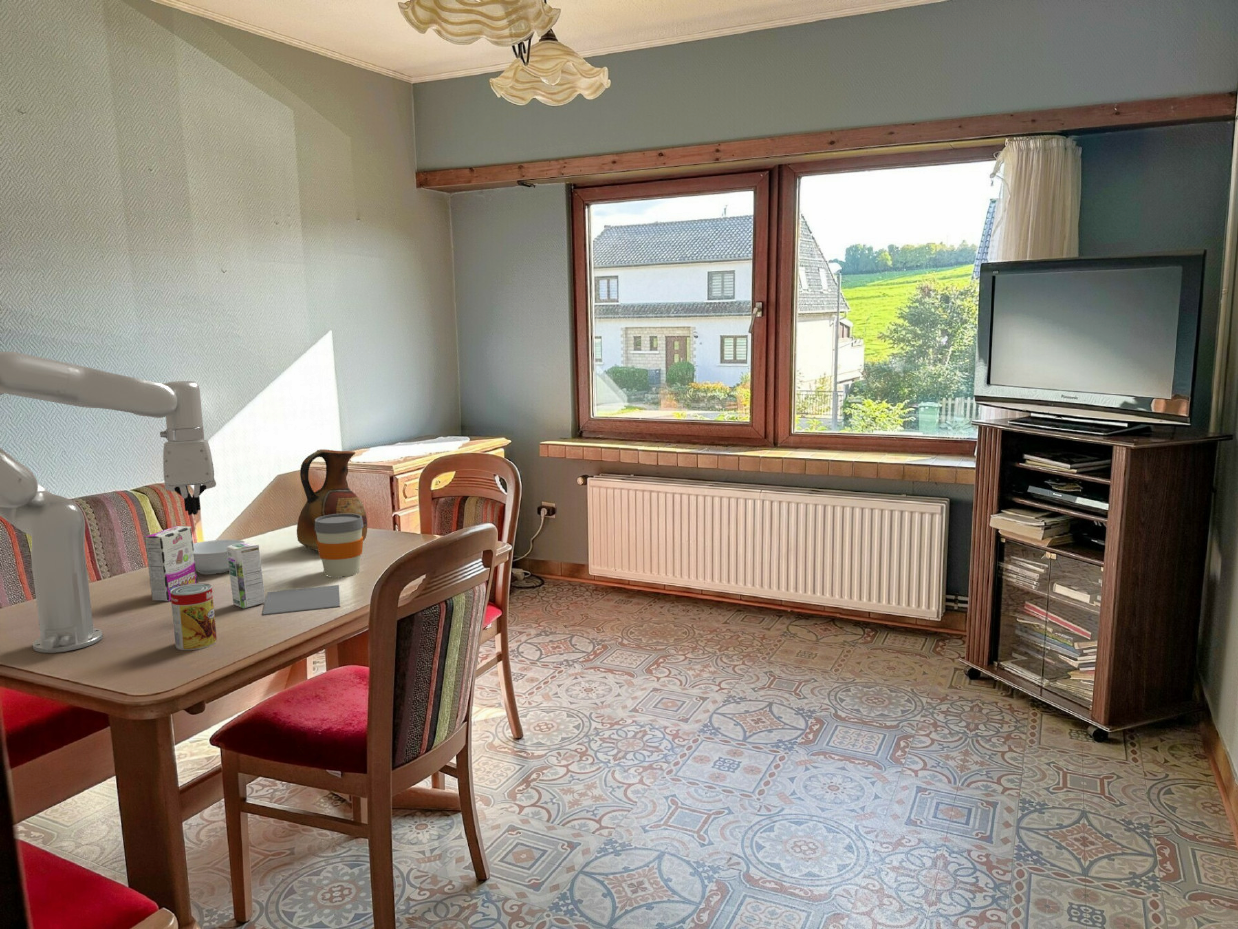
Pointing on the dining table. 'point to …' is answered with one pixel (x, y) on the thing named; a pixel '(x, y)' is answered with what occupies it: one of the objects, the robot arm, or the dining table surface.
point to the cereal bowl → (212, 556)
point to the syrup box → (246, 574)
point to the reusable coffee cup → (340, 543)
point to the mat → (301, 599)
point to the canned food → (193, 616)
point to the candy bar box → (170, 561)
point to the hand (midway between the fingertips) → (193, 513)
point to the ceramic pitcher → (327, 495)
